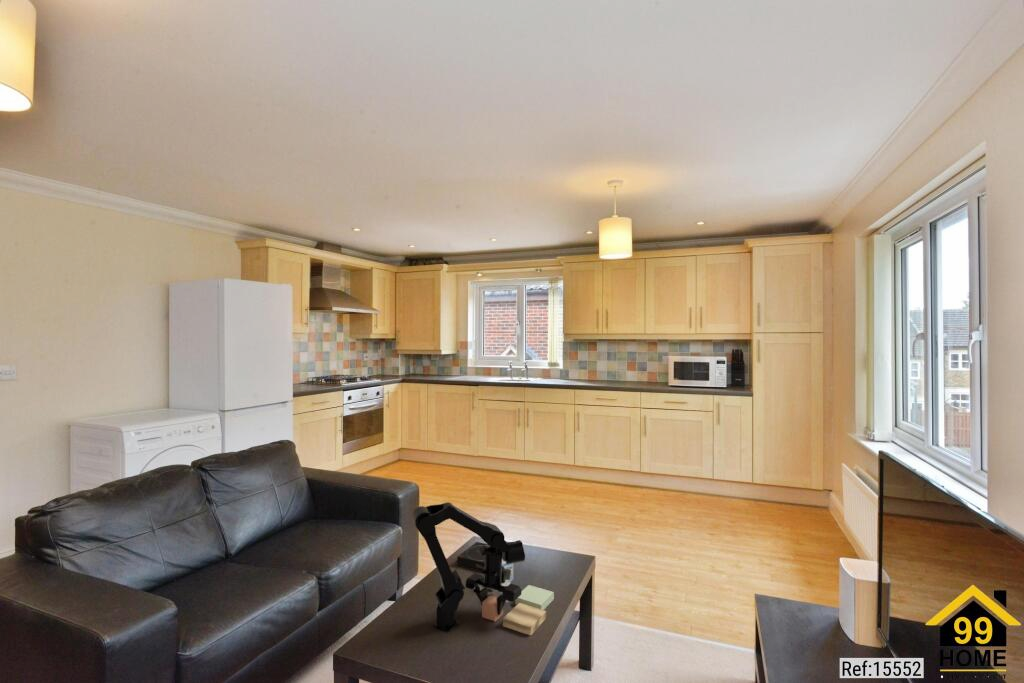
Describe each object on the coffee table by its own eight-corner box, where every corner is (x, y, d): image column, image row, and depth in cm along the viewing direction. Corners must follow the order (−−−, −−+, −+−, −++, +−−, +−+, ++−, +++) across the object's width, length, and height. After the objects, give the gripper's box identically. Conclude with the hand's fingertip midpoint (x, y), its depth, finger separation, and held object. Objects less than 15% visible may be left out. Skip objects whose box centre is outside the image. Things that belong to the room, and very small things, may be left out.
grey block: (506, 603, 174) (506, 589, 174) (492, 601, 176) (493, 587, 176) (510, 596, 179) (510, 582, 179) (496, 594, 181) (497, 580, 180)
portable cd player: (511, 557, 211) (511, 548, 211) (493, 575, 196) (493, 564, 196) (477, 550, 218) (477, 541, 218) (457, 566, 203) (457, 556, 203)
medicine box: (500, 590, 183) (500, 566, 183) (491, 586, 186) (491, 563, 186) (513, 582, 190) (513, 559, 190) (504, 578, 192) (504, 555, 192)
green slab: (541, 612, 169) (541, 605, 169) (515, 604, 174) (515, 597, 174) (553, 599, 177) (553, 592, 177) (528, 591, 182) (528, 584, 182)
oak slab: (530, 635, 156) (530, 627, 155) (502, 626, 160) (502, 618, 160) (546, 618, 165) (546, 611, 165) (519, 610, 170) (519, 602, 170)
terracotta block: (495, 621, 163) (495, 606, 163) (482, 617, 166) (482, 601, 165) (502, 614, 167) (503, 599, 167) (490, 609, 170) (490, 595, 170)
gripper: (529, 562, 169) (528, 609, 169) (482, 550, 178) (482, 594, 178) (513, 576, 159) (512, 625, 159) (464, 562, 168) (464, 608, 168)
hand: (492, 612), depth 166 cm, fingers closed on terracotta block, 5 cm apart
